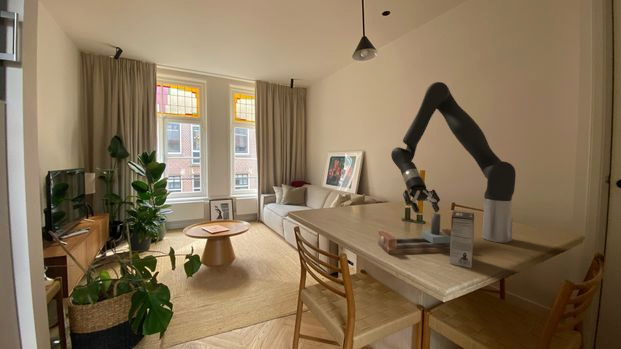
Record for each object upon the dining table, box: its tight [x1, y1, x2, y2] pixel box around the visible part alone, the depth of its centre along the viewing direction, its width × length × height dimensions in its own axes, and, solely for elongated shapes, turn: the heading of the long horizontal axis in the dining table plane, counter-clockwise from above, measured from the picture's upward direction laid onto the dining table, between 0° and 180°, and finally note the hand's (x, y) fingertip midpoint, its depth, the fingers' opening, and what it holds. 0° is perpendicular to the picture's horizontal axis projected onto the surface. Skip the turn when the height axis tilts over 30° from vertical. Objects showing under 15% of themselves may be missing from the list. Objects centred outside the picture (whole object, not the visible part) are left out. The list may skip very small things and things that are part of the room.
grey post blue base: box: [420, 212, 451, 244], centre depth 95 cm, size 7×8×10 cm
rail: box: [377, 228, 451, 255], centre depth 95 cm, size 31×10×6 cm, turn 96°
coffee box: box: [449, 211, 475, 269], centre depth 83 cm, size 9×6×16 cm
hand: (427, 211), depth 101 cm, fingers open, 8 cm apart
